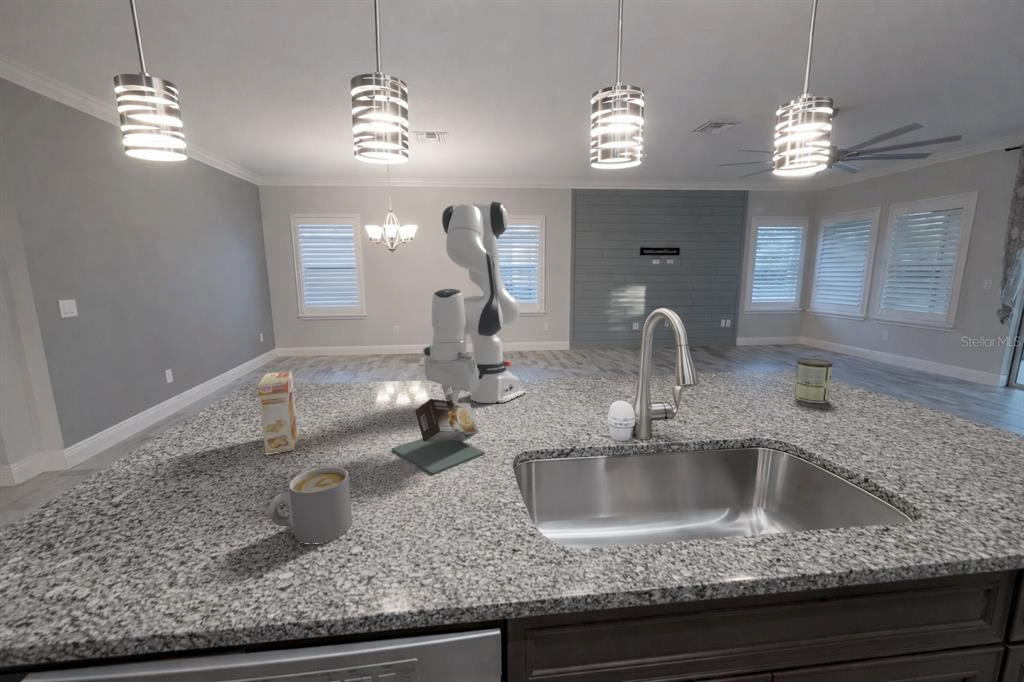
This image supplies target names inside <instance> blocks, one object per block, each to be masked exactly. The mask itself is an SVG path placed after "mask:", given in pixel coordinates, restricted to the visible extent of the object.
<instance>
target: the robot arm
mask: <svg viewBox="0 0 1024 682" xmlns="http://www.w3.org/2000/svg"><path fill="white" fill-rule="evenodd" d="M441 223H442V228H443V231H444V233H445V234H446V240H445V241H446V242H445V244H446V246H445V247H446V253H447V255H448V257H449V259H450V260H451V262H453V263H454V264H456V265H457V266H459V267H460V268H463V269H467V270H468V278H469V280H470V281H471V283H473V284H474V285H476V286H478V288H480V291H481V292H482V294H483V295H482V294H481V295H480V294H479V295H478V294H477V295H476V294H475V295H474V294H472V295H471V294H470V295H465V296H463V292H462V291H461V290H459V289H456V288H455V289H454V288H447V289H446V288H445V289H440V290H437V291H436V292H434V293H433V295H432V301H431V326H432V330H433V336H432V344H431V345H428V346H425V347H423V349H422V355H423V356H424V359H423V360H424V361H423V367H424V369H423V370H424V375H425V378H426V380H427V381H430V382H432V383H437V384H440V385H441V388H442V391H443V393H444V401H450V402H452V403H457V402H459V395H460V393H461V391H463V392H467V393H470V392H471V393H470V397H469V399H470V400H471V401H472V400H473V401H472V402H475V401H476V403H481V404H495V403H496V402H499V404H505V403H504V402H506V403H508V402H507V401H509V400H511V399H513V398H515V397H517V396H519V395H521V394H523V393H525V392H526V393H527V391H526V390H525V389H524V388H521V384H520V380H519V378H518V377H517V376H516V375H514V374H513V373H512V372H510V371H508V369H507V367H509V368H510V367H511V366H512V362H511V361H510V360H506V361H504V360H503V358H504V357H503V342H502V339H501V338H500V337H499V336H498V335H496V334H497V333H499V332H500V331H501V330H502V327H504V326H509V325H514V324H516V322H517V321H518V319H519V318H520V314H521V306H520V304H519V302H518V300H517V299H516V297H513V296H512V295H511V294H510V293H509V292H508V290H507V288H506V287H505V285H504V283H503V281H502V276H501V271H500V270H501V269H500V262H499V261H500V259H499V258H500V257H499V248H498V242H497V240H498V239H499V238H500V236H501V235H503V234H504V233H505V232H506V230H507V227H508V224H509V214H508V211H507V209H506V207H505V205H504V204H503V203H502V202H498V201H492V202H487V201H482V202H481V201H480V202H479V201H476V202H475V201H474V202H471V203H469V202H468V203H462V204H459V205H456V204H453V205H450V206H446V208H444V210H443V212H442V218H441ZM467 336H469V337H470V340H471V345H472V346H471V347H472V355H471V354H467V352H468V350H467ZM515 399H516V398H515ZM513 400H514V399H513ZM511 401H512V400H511ZM509 402H510V401H509ZM496 404H497V403H496Z"/></svg>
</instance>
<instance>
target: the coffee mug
mask: <svg viewBox="0 0 1024 682" xmlns="http://www.w3.org/2000/svg"><path fill="white" fill-rule="evenodd" d="M288 489H289V491H286V492H282V493H280V494H278V495H275V496H274V497H273V498H272V499H271V501H270V503H269V507H268V508H269V509H268V511H269V512H268V513H269V518H270V520H271V522H273V524H275V525H276V526H279V527H280V526H281V527H288V528H291V529H292V530H293V533H294V534H293V536H294V539H295V541H296V540H297V541H299V542H302V543H309V544H313V543H314V544H315V543H321V542H326V541H330V540H333V539H335V538H337V537H339V536H341V535H342V534H344V533H345V532H346V531H347V530H348V529H349V528H350V527H352V526H353V517H352V515H353V514H352V512H353V511H352V504H351V503H352V502H351V493H350V492H351V491H350V480H349V472H348V470H346V469H345V468H343V467H339V466H323V467H317V468H312V469H310V470H307V471H304V472H302V473H300V474H298V475H297V476H294V477H293V479H291V480H290V482H289V485H288ZM281 504H287V505H288V507H289V510H290V512H289V514H288V515H286V516H282V515H280V513H279V512H278V508H279V506H280V505H281ZM351 525H352V526H351ZM350 529H351V528H350ZM350 529H349V530H350ZM349 530H348V531H349ZM348 531H347V532H348ZM347 532H346V533H347ZM346 533H345V534H346ZM345 534H344V535H345ZM342 536H343V535H342ZM342 536H341V537H342ZM339 538H340V537H339ZM337 539H338V538H337ZM335 540H336V539H335ZM297 541H296V542H297ZM333 541H334V540H333ZM299 542H298V543H299ZM330 542H331V541H330Z"/></svg>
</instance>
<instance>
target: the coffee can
mask: <svg viewBox="0 0 1024 682" xmlns="http://www.w3.org/2000/svg"><path fill="white" fill-rule="evenodd" d="M796 363H797V367H796V379H795V387H794V399H796V400H798V401H801V402H806V403H813V404H827V403H828V402H829V401H830V400H829V399H830V391H831V390H830V389H831V382H832V381H831V380H832V369H833V365H834V362H833V361H830V360H827V359H820V358H809V357H807V358H806V357H805V358H798V359H797V362H796Z"/></svg>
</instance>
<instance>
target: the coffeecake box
mask: <svg viewBox="0 0 1024 682" xmlns="http://www.w3.org/2000/svg"><path fill="white" fill-rule="evenodd" d="M292 372H293V371H291V370H290V371H289V370H288V371H278V372H277V371H276V372H266V373H265V375H264V376H263V377H262V379H261V380H260V381H259V383H258V384H257V390H258V401H259V409H260V415H261V424H262V425H261V427H262V435H263V444H264V451H265V452H264V453H265V454H266V453H275V452H284V451H289V450H294V451H295V448H296V444H295V443H297V439H296V438H298V435H297V432H298V424H297V415H296V414H297V413H296V405H295V404H296V402H295V391H294V384H293V383H294V382H293V373H292ZM294 447H295V448H294Z"/></svg>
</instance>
